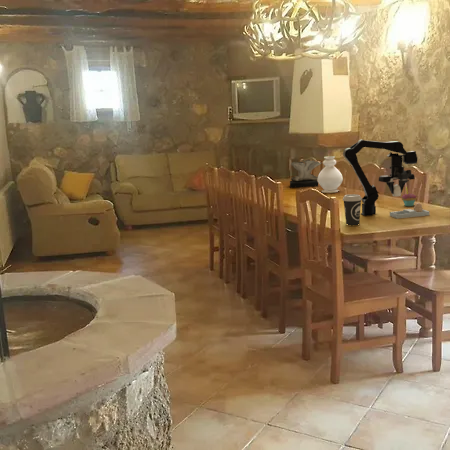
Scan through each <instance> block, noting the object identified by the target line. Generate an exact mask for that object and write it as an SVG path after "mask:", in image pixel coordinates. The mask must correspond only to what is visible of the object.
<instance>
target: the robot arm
mask: <svg viewBox="0 0 450 450" xmlns="http://www.w3.org/2000/svg"><path fill="white" fill-rule="evenodd" d="M364 148H369V149H370V148H371V149H378V150H379V149H381V150H385V151H390V152H389V153H388V154H387V155H386V156H387V157H388V158H390V166H389V169H390V174H389V175H380V176H379V177H378V182H381V183H385V184H386V185H387V187H388V189H389V191H390V192H391V194H393V193H394V185H395V180H398V185H399V186H400V189H401V194H403V193H402V192H403V190H404V187H405V186H406V183H407V182H409V181H410V180H415V178H416V177H415V174H414V173H412V170H411V169H407V170H405V168H404V166H403V163H404V165H413V164H414V165H416V164H417V163H418V154H417V151H415V150H411V151H407V150H406V149H405V148H404V145H403V143H402V141H395V140H392V141H391V140H390V141H377V140H376V141H375V140H367V139H359V140H358V141H357V142H355V143H354V144H352V145H351V146H350V147H346V148H345V149H344V150H343V152H342V155H343V157H344V158H345V160H346V161H347V162H348V163H349V165H351V167H352V169H353V171H354V173H355V174H356V177H357V178H358V181H359V183H360V184H361V186H362V188H363V193H364V196H363V197H361V198H362V200H361V212H360V215H362V216H365V217H366V216H367V217H368V216H374V215H376V214H377V209H376V208H377V206H376V202H377V201H378V199H379V191H378V190H377V187H376V186H375V185H374V184H372V185H371V183H370V181H369V180H368V178H367V176H366V175H365V172H364V171H363V169H362V167H361V164H360V163H359V159H358V156H357V154H358V153H360V151H361V150H363V149H364ZM393 152H394V153H393ZM408 179H409V180H408Z"/></svg>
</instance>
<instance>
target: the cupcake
mask: <svg viewBox="0 0 450 450" xmlns="http://www.w3.org/2000/svg"><path fill="white" fill-rule="evenodd" d="M405 191H406V192H405V194H403V195H402V196H401V200H402V202H403V204H404V206H405V207H413V206H415V202H416V201H417V200H418V197H417V195H415V194H414V193H409V192H408V187H407V186H405Z"/></svg>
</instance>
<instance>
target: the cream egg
mask: <svg viewBox="0 0 450 450" xmlns="http://www.w3.org/2000/svg"><path fill="white" fill-rule="evenodd" d="M391 194H392V193H391ZM401 195H402V193H401V189H400V186H399V184H394V193H393V194H392V197H402V196H401Z"/></svg>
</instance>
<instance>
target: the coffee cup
mask: <svg viewBox="0 0 450 450" xmlns="http://www.w3.org/2000/svg"><path fill="white" fill-rule="evenodd" d="M362 198H363V197H362V196H361V195H360V194H354V193H352V194H345V195H343V197H342V201H343V206H344V207H343V208H344V217H345V225H346V224H348V225H358V224H359V225H360V219H361V218H360V217H361V209H362ZM359 225H358V226H359Z"/></svg>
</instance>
